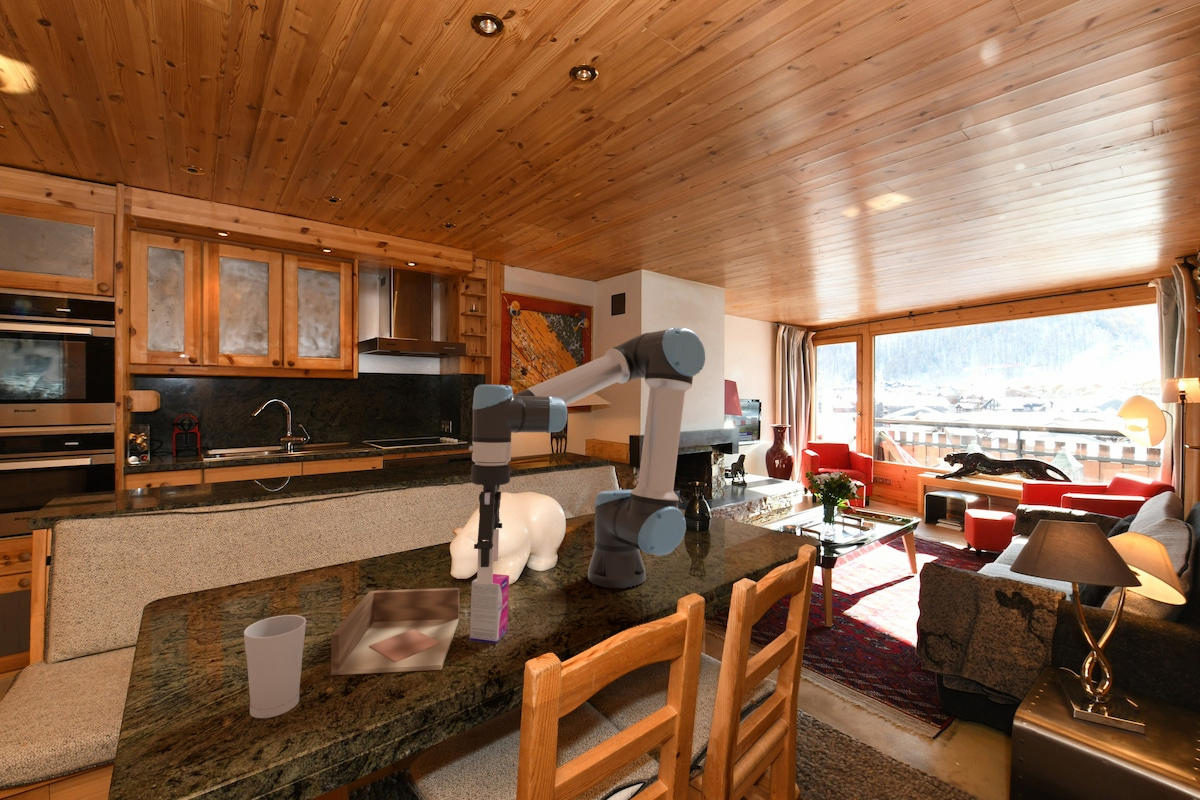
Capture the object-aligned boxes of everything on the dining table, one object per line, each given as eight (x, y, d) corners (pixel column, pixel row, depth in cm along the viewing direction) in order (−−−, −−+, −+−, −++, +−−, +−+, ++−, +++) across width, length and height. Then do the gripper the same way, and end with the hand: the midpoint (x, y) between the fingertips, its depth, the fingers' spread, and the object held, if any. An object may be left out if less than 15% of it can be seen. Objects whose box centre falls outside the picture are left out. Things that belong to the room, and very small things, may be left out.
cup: (228, 718, 74) (229, 635, 74) (272, 688, 82) (273, 613, 82) (277, 724, 73) (278, 640, 73) (317, 693, 81) (318, 616, 81)
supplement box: (497, 644, 98) (498, 584, 98) (468, 641, 99) (469, 581, 99) (509, 631, 103) (509, 574, 103) (481, 628, 105) (482, 571, 105)
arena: (459, 620, 108) (459, 587, 108) (441, 669, 88) (441, 630, 88) (369, 623, 106) (369, 590, 106) (330, 675, 86) (331, 634, 86)
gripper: (478, 456, 113) (476, 553, 113) (462, 471, 88) (459, 595, 88) (513, 456, 114) (510, 552, 114) (506, 471, 89) (503, 594, 89)
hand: (488, 571), depth 101 cm, fingers open, 13 cm apart
